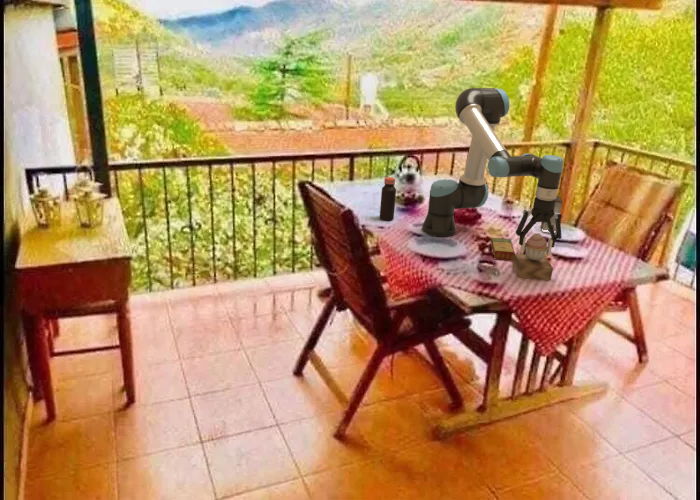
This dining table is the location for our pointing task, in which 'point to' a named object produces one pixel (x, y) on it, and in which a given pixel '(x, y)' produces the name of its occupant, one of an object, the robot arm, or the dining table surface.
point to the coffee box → (553, 222)
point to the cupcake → (535, 247)
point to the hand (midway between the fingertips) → (534, 253)
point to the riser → (532, 267)
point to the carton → (502, 249)
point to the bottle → (388, 200)
